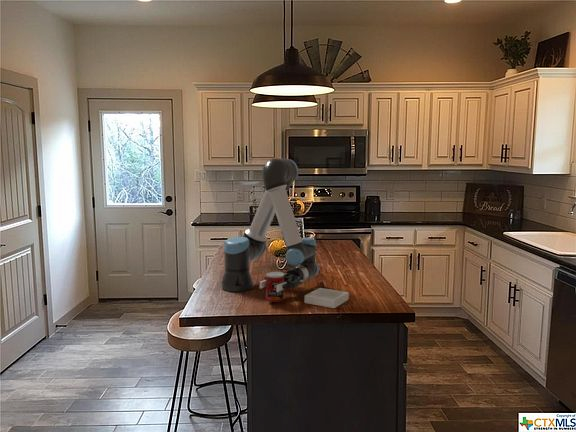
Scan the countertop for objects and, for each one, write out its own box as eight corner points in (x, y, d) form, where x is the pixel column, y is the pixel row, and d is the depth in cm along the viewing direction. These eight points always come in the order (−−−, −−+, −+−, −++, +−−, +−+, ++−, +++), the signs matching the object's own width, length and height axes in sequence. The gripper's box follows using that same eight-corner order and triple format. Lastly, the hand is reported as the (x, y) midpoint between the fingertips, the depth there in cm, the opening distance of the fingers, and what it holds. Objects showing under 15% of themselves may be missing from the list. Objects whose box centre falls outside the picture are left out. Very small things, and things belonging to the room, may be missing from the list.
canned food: (266, 302, 194) (266, 276, 193) (266, 296, 202) (266, 271, 201) (284, 302, 195) (284, 276, 193) (283, 296, 203) (283, 271, 201)
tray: (304, 302, 198) (304, 295, 198) (319, 294, 210) (320, 287, 209) (334, 308, 191) (334, 300, 190) (348, 299, 202) (348, 292, 202)
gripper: (316, 286, 208) (289, 299, 189) (277, 279, 219) (248, 291, 199) (316, 270, 207) (289, 281, 188) (278, 264, 218) (248, 274, 198)
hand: (268, 286), depth 194 cm, fingers closed on canned food, 8 cm apart
